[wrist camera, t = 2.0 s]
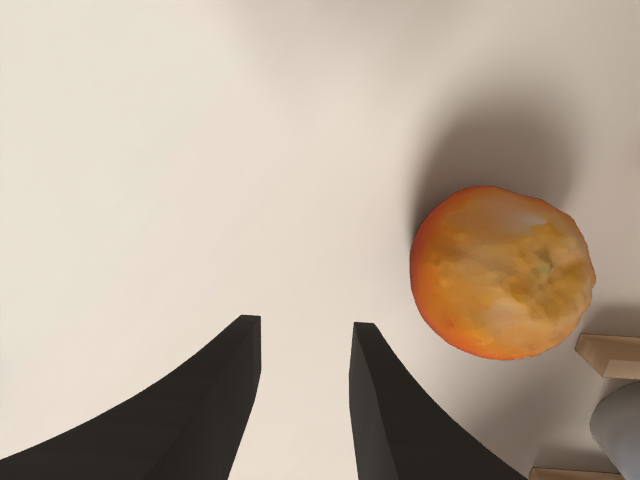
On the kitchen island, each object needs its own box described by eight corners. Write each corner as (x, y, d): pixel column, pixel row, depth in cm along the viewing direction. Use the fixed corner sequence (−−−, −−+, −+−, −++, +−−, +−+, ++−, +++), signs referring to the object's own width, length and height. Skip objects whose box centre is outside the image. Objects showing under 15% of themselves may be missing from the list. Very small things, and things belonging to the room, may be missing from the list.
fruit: (354, 306, 20) (427, 318, 12) (407, 191, 21) (500, 136, 14) (469, 366, 21) (603, 412, 13) (510, 251, 23) (650, 233, 15)
